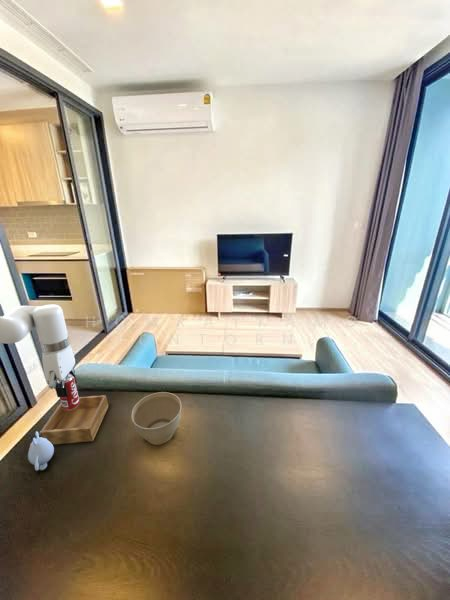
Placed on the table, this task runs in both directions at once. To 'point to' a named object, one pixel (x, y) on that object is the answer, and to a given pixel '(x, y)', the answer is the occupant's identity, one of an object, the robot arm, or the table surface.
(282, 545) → the table surface
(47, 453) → the toy figure
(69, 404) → the soda can
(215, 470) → the table surface
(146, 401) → the planter bowl
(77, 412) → the wooden tray
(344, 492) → the table surface
